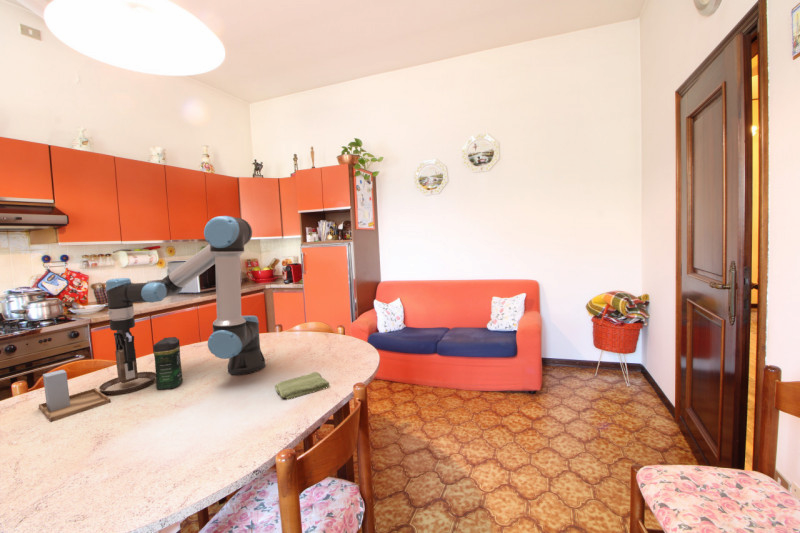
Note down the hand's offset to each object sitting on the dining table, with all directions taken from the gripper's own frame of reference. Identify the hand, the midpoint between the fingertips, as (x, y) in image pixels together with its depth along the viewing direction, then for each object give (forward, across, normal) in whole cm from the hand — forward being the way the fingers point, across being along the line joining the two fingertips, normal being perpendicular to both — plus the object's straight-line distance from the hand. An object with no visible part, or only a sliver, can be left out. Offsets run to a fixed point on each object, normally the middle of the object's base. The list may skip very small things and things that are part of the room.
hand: (127, 376), depth 135 cm
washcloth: (+4, +61, +34) cm, 70 cm away
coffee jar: (+4, +14, +9) cm, 17 cm away
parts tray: (+4, +4, -16) cm, 17 cm away
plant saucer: (+5, 0, 0) cm, 5 cm away
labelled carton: (+1, 0, 0) cm, 1 cm away
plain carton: (+4, 0, -20) cm, 20 cm away
